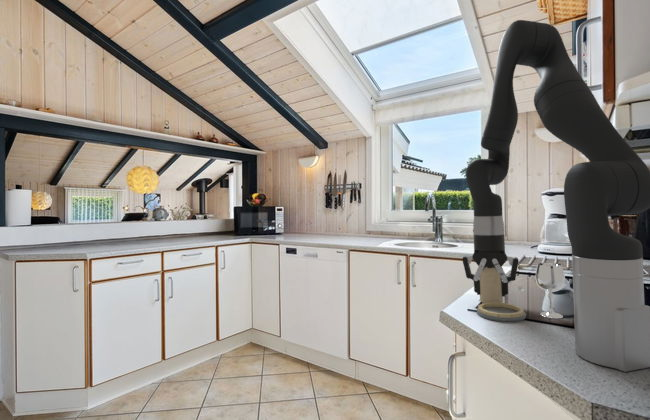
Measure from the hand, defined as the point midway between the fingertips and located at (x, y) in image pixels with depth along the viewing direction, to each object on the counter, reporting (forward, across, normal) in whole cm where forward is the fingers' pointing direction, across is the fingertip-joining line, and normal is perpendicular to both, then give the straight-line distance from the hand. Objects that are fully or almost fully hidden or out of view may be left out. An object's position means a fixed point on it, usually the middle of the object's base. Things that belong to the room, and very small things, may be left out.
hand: (490, 294), depth 92 cm
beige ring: (+2, -2, +10) cm, 11 cm away
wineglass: (+2, -13, +7) cm, 15 cm away
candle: (+2, 0, 0) cm, 2 cm away
